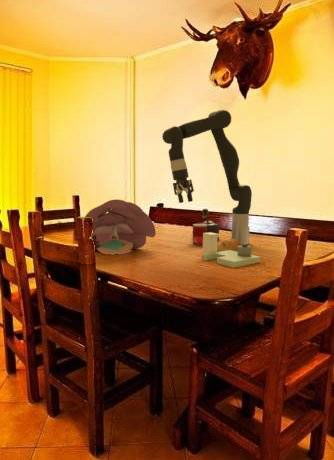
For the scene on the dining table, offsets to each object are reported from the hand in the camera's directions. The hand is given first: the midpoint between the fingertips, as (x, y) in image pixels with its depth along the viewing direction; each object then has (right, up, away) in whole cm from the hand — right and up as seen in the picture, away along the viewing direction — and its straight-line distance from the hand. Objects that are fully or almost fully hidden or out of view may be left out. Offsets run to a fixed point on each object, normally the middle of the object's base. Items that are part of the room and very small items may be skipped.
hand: (185, 202), depth 175 cm
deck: (+20, -28, -15) cm, 37 cm away
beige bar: (+11, -26, -5) cm, 29 cm away
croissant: (+22, -25, +8) cm, 34 cm away
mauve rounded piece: (-35, -24, +6) cm, 43 cm away
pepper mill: (+15, -19, +46) cm, 52 cm away
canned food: (+9, -22, +27) cm, 36 cm away
